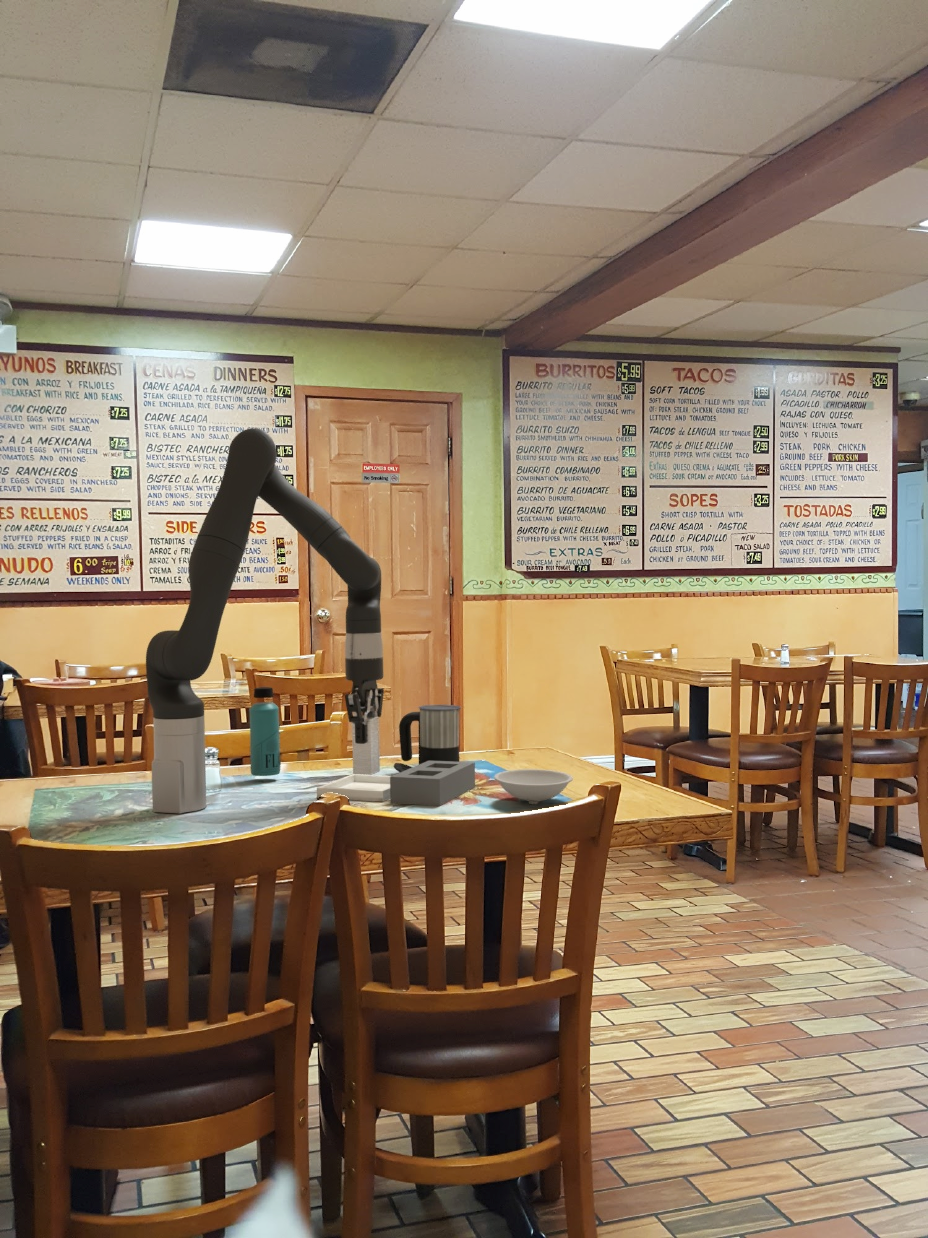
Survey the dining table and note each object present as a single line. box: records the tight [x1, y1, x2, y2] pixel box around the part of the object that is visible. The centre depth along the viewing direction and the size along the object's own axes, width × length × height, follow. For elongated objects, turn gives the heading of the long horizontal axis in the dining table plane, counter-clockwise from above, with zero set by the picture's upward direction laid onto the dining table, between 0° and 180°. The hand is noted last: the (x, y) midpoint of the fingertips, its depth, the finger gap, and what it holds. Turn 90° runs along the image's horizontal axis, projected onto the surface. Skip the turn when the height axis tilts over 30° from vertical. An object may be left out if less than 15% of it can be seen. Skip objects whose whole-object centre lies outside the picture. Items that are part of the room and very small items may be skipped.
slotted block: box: [389, 761, 476, 807], centre depth 210 cm, size 20×10×5 cm, turn 160°
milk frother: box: [393, 704, 461, 773], centre depth 231 cm, size 14×16×15 cm
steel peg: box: [351, 717, 381, 775], centre depth 214 cm, size 4×4×11 cm
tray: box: [316, 773, 392, 802], centre depth 214 cm, size 16×14×2 cm
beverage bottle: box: [249, 686, 282, 777], centre depth 229 cm, size 6×7×20 cm
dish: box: [493, 768, 574, 805], centre depth 200 cm, size 18×14×5 cm
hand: (365, 741), depth 214 cm, fingers closed on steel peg, 4 cm apart
